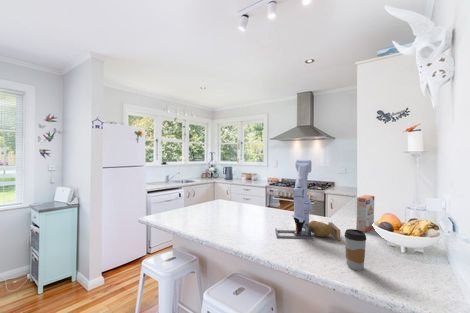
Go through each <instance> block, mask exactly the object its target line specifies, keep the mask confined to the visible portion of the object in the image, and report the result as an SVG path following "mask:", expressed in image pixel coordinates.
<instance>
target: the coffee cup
mask: <svg viewBox="0 0 470 313" xmlns="http://www.w3.org/2000/svg"><path fill="white" fill-rule="evenodd" d="M343 236H344V243H345V247H344V248H345V249H344V250H345V259H346V265H347V267H348V268H349V269H351V270H353V271H362V270H363V269H364V266H365V256H366V242H367V235H366V232H363V231H360V230H356V229H355V228H349V229H348V228H347V229H346V230H345V232H344V235H343Z"/></svg>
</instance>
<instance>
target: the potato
mask: <svg viewBox="0 0 470 313" xmlns="http://www.w3.org/2000/svg"><path fill="white" fill-rule="evenodd" d="M309 226H310V228H311V233H313V235H315V236H317V237H321V238H322V237H329V236H330V235H331V234H332V233H333V228H332V227H331V226H330V225H328V224H327V223H324V222H321V221H317V220H311V221H309Z"/></svg>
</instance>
